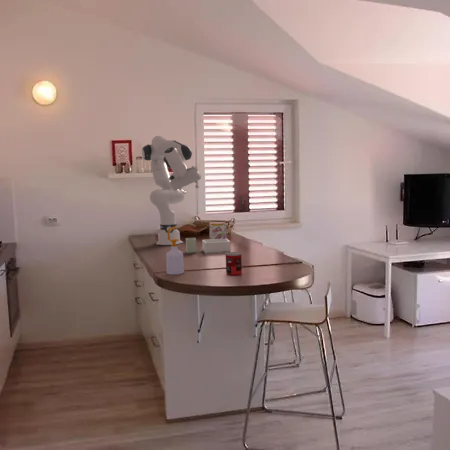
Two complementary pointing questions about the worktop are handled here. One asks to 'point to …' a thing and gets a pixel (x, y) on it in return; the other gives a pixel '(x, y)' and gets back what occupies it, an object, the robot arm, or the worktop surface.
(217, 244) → the box
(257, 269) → the worktop surface
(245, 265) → the worktop surface
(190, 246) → the small tote
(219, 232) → the candy bar box
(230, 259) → the canned food
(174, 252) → the soap bottle
